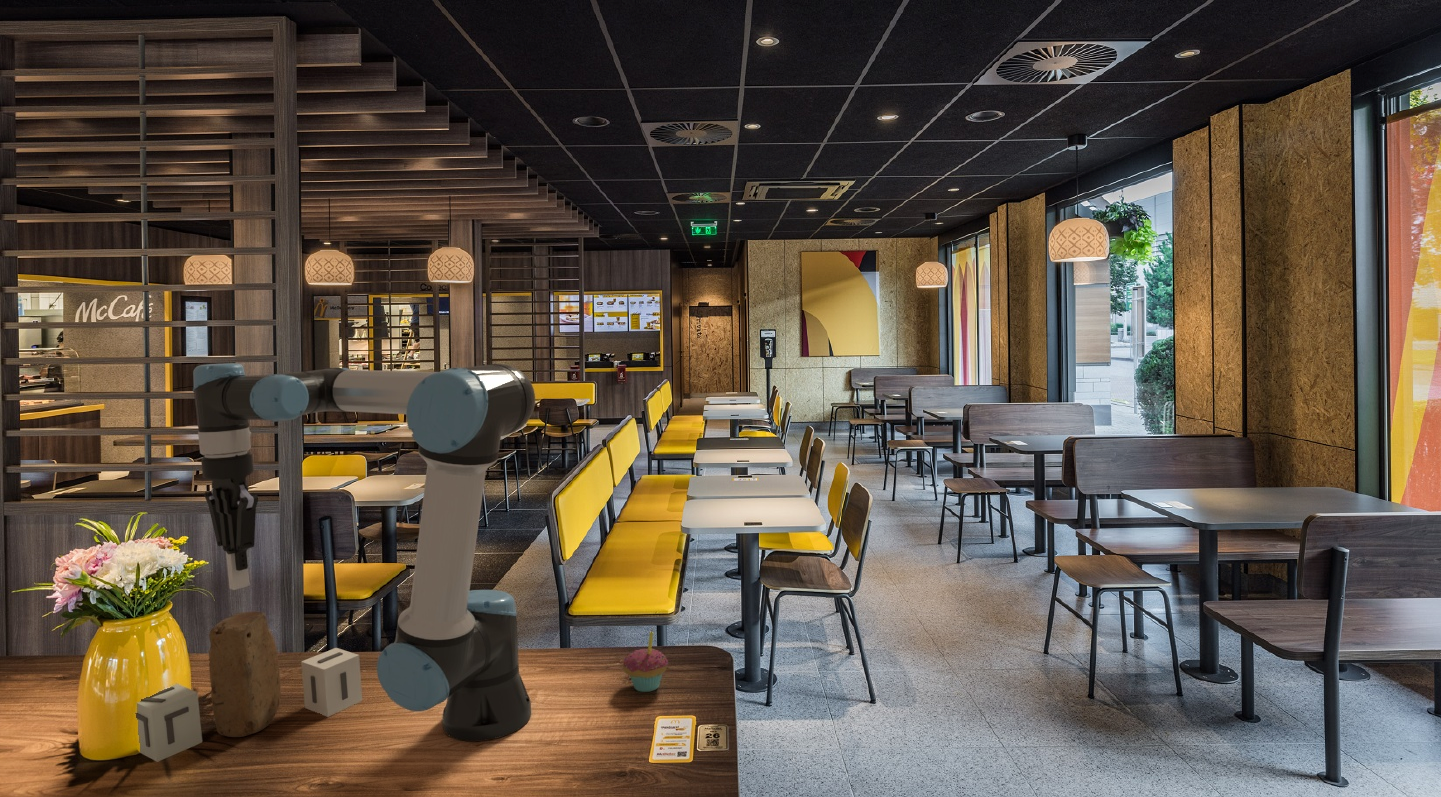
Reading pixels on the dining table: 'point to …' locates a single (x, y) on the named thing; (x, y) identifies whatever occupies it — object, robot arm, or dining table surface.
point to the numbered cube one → (331, 681)
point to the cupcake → (645, 667)
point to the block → (243, 674)
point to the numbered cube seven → (168, 722)
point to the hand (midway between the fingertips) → (239, 586)
